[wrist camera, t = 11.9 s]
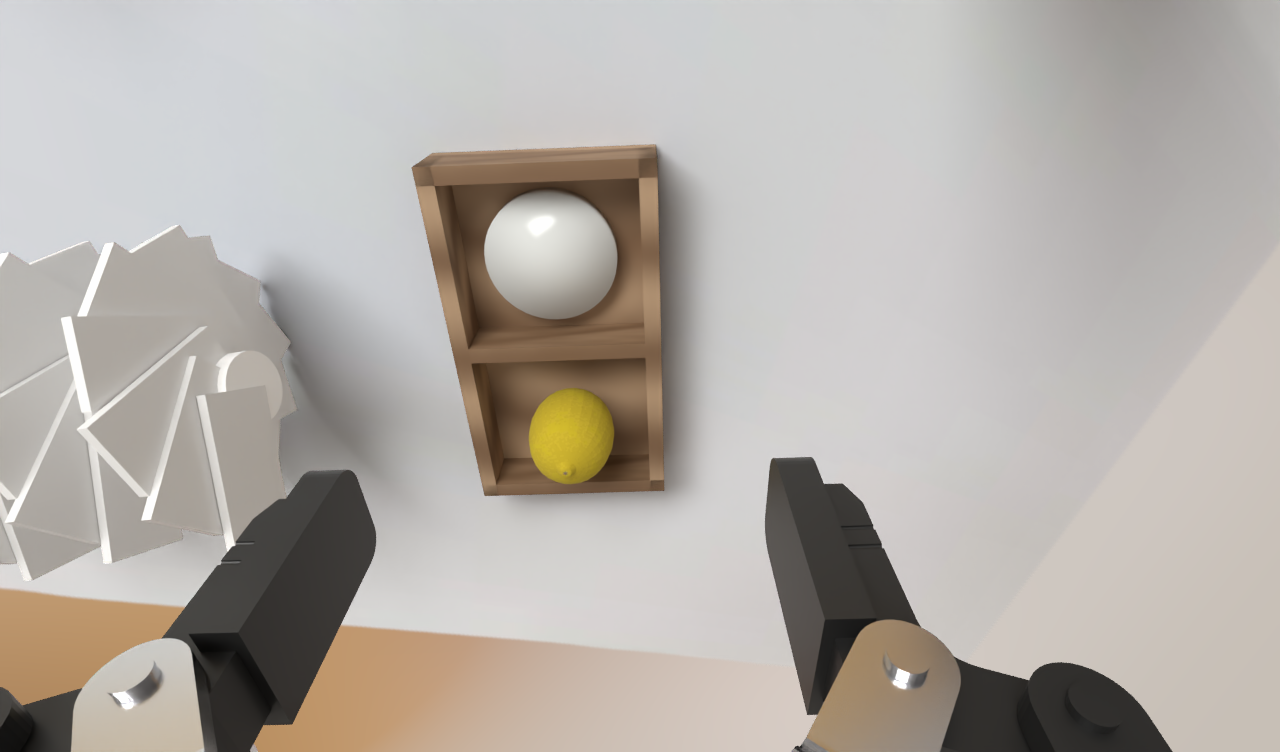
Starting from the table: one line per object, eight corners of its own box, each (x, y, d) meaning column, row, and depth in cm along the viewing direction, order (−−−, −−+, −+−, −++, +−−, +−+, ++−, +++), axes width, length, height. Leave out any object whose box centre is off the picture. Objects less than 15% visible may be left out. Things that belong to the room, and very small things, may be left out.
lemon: (582, 353, 41) (572, 421, 34) (631, 407, 44) (630, 481, 37) (521, 393, 43) (500, 465, 36) (571, 444, 45) (559, 521, 38)
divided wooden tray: (432, 153, 35) (411, 167, 32) (655, 144, 35) (657, 157, 32) (495, 462, 47) (484, 495, 44) (662, 457, 47) (664, 490, 44)
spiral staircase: (11, 288, 44) (328, 236, 41) (64, 523, 46) (373, 491, 42) (-476, 271, 26) (24, 177, 23) (-360, 662, 27) (122, 625, 24)
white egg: (478, 189, 36) (473, 195, 35) (614, 184, 36) (613, 189, 34) (499, 313, 40) (495, 321, 39) (621, 309, 40) (620, 317, 39)
